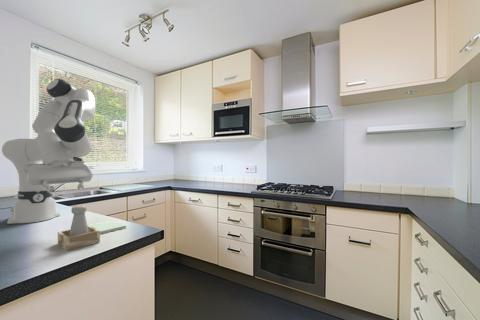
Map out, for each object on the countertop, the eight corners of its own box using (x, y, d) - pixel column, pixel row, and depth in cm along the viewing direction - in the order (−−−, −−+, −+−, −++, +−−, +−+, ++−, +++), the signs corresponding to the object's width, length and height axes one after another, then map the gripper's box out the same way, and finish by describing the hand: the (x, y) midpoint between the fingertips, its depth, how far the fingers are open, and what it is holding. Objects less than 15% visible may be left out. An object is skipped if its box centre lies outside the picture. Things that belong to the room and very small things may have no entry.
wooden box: (57, 243, 75) (57, 232, 75) (89, 236, 83) (89, 225, 83) (66, 250, 69) (66, 238, 69) (99, 241, 77) (99, 230, 77)
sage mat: (81, 228, 92) (81, 226, 92) (111, 221, 101) (111, 219, 101) (94, 235, 83) (94, 233, 83) (126, 227, 93) (126, 225, 93)
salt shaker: (64, 244, 74) (64, 206, 74) (81, 238, 80) (81, 203, 80) (76, 247, 72) (76, 208, 72) (92, 241, 78) (92, 204, 78)
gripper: (24, 158, 79) (32, 187, 73) (88, 158, 96) (98, 182, 90) (21, 170, 81) (28, 198, 76) (84, 168, 98) (93, 192, 93)
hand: (67, 189), depth 83 cm, fingers open, 8 cm apart
